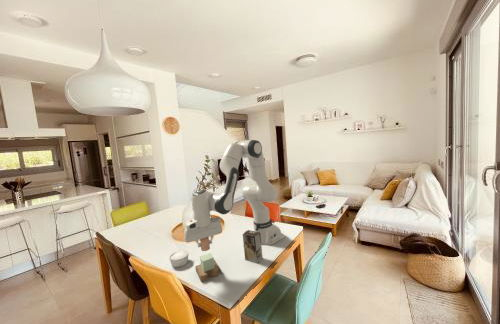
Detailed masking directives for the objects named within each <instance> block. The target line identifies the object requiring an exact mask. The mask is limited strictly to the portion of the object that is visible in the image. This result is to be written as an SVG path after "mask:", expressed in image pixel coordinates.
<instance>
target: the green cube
mask: <svg viewBox="0 0 500 324" xmlns="http://www.w3.org/2000/svg"><path fill="white" fill-rule="evenodd" d="M199 259H200V264H201V267H202V269H203V271H204V272H206V271H209V270H211V269H214V268H215V265H214V260H215V258H214V256H213V255H212V253H211V252H209V253H206V254H203V255H200V256H199Z"/></svg>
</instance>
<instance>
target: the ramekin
mask: <svg viewBox="0 0 500 324" xmlns="http://www.w3.org/2000/svg"><path fill="white" fill-rule="evenodd" d="M168 259H169V262H170V264H171V265H170V266H172V267H174V268H179V267H180V268H181V267H183V266H185V265H186V264H187V263H188V261H189V251H188V250H184V249H182V250H177V251H174V252H172V253H171V254H170V255H169V257H168Z"/></svg>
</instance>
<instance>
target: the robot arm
mask: <svg viewBox="0 0 500 324" xmlns="http://www.w3.org/2000/svg"><path fill="white" fill-rule="evenodd" d="M222 154H223V155H222V157H221V159H220V161H219V169H220V171H221V173H223V174H224V176H226V182H225V186H224V190H223V192H222V193H217V192H211V191H208V190H206V189H200V190H196V191H195V192H193V193H192V195H191V207H192V211H193V214H192V215H193V217H192V218H190V219H189V220H187V221H185V227H184V230H183V231H184V233H183V238H184V242H185V243H186V244H188V243H192V242H195V243H196V244H197V248H201V243H200V242H199V241H200V239H203V238H206V237H209V245H211V244H213V239H214V236H215V235H219V234H220V235H221V234H222V233H223V228H222V227H223V226H222V218H221V217H220V216H215V217H211V211H214V212H217V213H219V214H221V215H227V214H229V213H230V212H231V210H232V209H233V207H234V201H235V199H234V198H235V193H236V190H237V189H236V188H237V185H238V180H239V177H240V176H239V175H240V171H239V166H240V163H241V160H242V158H246V159H247V160H248V172H249V177H250V179H251V180H252V181H254V182H255V183H256V184H250V185H245V186H244V187H243V189H242V192H241V194H242V195H241V196H242V198H243V199H244V200H246V201H247V202H248V204H249V206H250V208H251V210H252V215H253V229H254V230H253V231H255V232H260V236H261V245H267V246H271V245H273V244H275V243H277V242H279V241H281V240H284V239H285V237H286V236H285V234H284V233H283V232H282V231H281V229H280V227H279V226H277V225H276V224H275V223H276V220H275V219H271V218H270V209H269V207H268V206H266V205H265V204H264V203H270V202H275V201H277V199H278V196H279V195H278V193H279V192H278V189H277V187H275V186H274V185H272V183H271V182H270V180H269V179H268V175H267V171H266V162H265V157H264V153H263V146H262V144H261V142H260V141H259V140H257V139H252V140H251V139H245V140H239V141H236V142H232V143H229V144H228V145H227V147H226V148H225V150H224V152H223V153H222Z"/></svg>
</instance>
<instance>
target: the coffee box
mask: <svg viewBox="0 0 500 324" xmlns="http://www.w3.org/2000/svg"><path fill="white" fill-rule="evenodd" d="M242 241H243V242H242V243H243V249H244V251H243V252H244V259H245V261H249V262H252V263H255V264H258V263H260V262H261V261H262V260H263V258H264V257H263V249H262V248H263V247H262V244H261V236H260V232H255V231H254V230H249V229H248V230H246V231H244V233H242Z"/></svg>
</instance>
